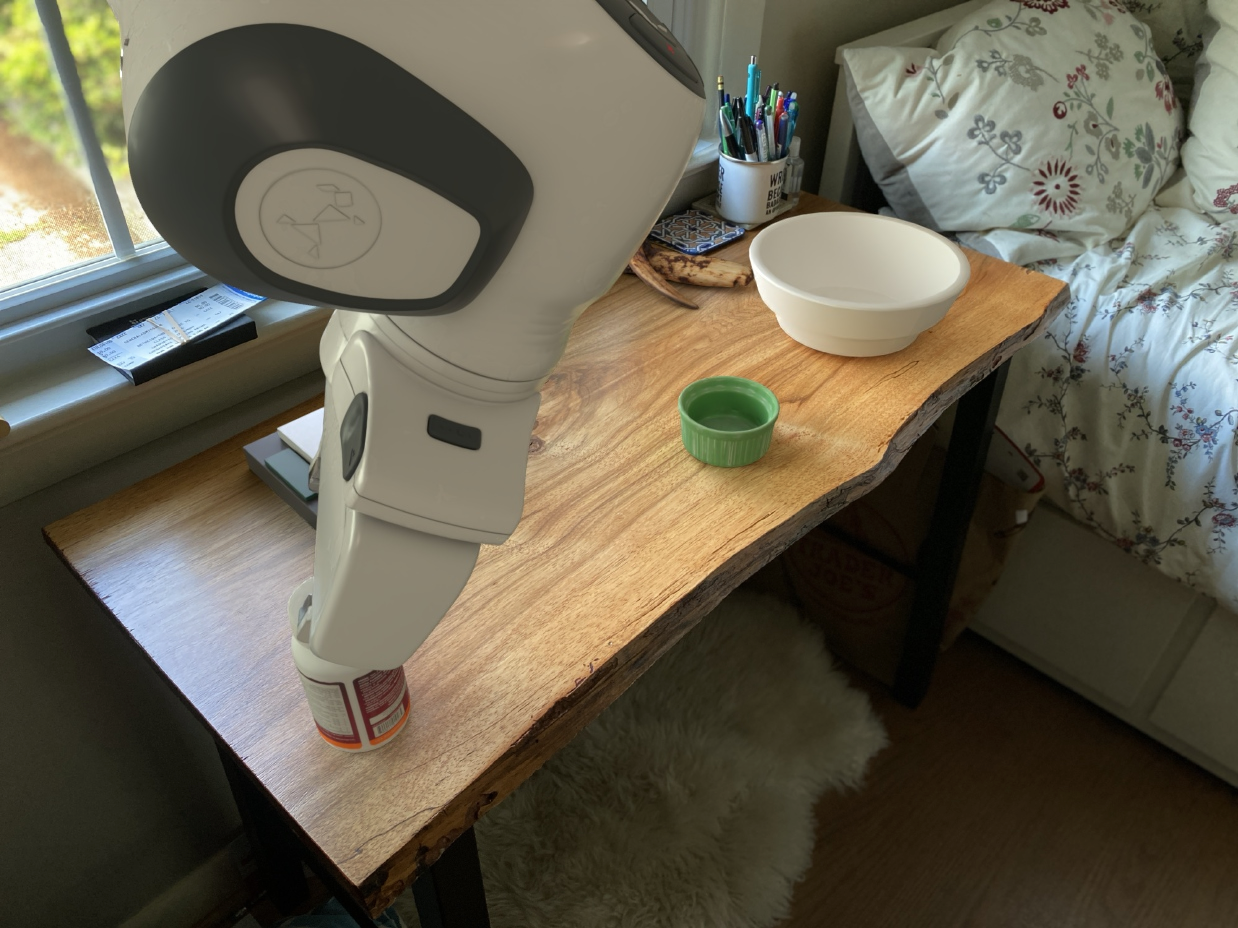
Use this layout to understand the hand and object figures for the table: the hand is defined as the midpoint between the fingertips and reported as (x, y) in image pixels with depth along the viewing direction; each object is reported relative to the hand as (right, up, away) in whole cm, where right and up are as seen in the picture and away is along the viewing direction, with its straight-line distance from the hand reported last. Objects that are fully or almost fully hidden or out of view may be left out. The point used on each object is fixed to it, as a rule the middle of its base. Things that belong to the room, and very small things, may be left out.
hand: (318, 553), depth 47 cm
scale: (-7, +4, +36) cm, 37 cm away
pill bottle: (-2, -12, +15) cm, 20 cm away
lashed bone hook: (+21, +25, +62) cm, 71 cm away
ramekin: (+25, +6, +39) cm, 46 cm away
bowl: (+40, +19, +55) cm, 71 cm away
